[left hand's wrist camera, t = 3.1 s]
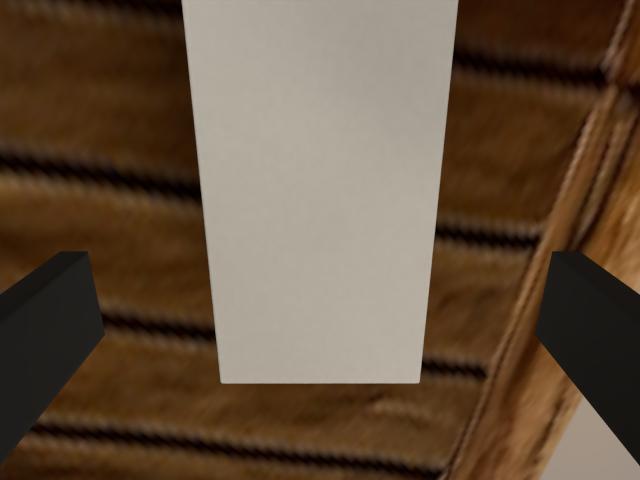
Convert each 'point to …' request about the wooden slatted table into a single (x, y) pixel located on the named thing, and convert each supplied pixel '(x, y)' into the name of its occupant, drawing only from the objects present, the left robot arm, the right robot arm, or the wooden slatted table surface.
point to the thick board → (320, 181)
